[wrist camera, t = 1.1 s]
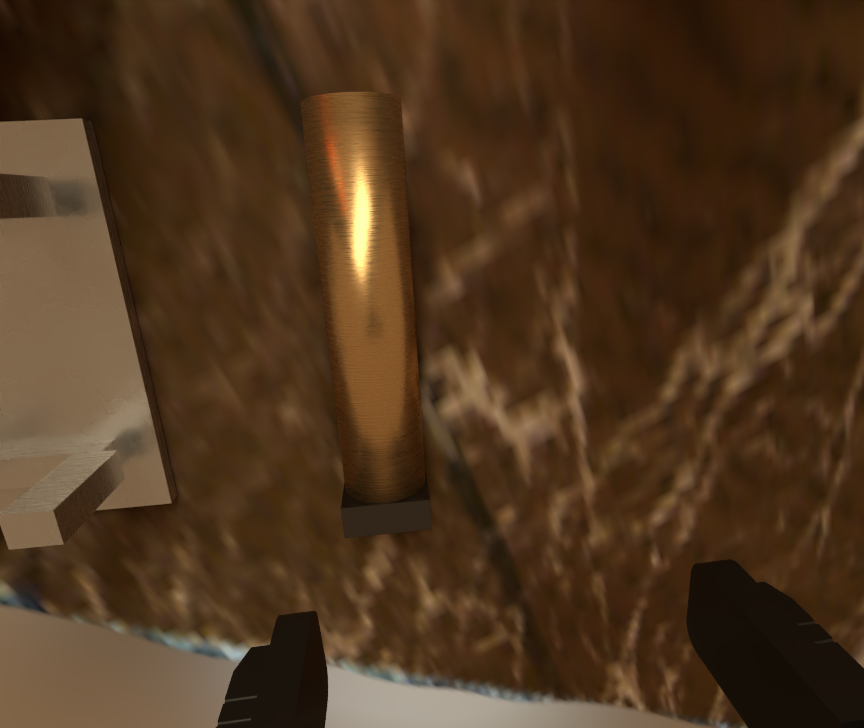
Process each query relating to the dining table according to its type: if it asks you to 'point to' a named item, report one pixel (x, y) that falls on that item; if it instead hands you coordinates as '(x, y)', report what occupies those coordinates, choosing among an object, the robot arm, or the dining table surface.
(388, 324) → the tube
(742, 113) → the dining table surface
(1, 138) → the white holder rack
